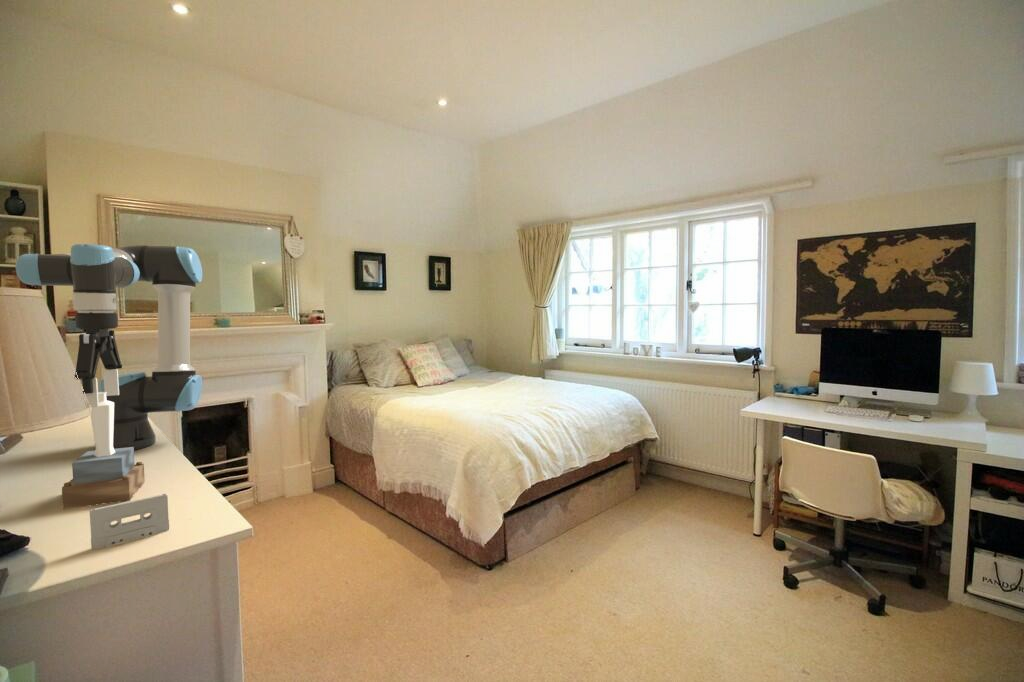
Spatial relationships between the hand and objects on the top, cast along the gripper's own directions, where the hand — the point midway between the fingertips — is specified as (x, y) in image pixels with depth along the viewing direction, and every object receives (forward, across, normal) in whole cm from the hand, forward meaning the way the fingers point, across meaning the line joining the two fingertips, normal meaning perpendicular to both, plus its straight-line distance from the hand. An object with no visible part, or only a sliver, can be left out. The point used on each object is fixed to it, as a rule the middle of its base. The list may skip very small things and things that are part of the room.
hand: (101, 401), depth 112 cm
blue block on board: (+23, 0, 0) cm, 23 cm away
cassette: (+23, -28, -12) cm, 39 cm away
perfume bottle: (+13, 0, 0) cm, 13 cm away
